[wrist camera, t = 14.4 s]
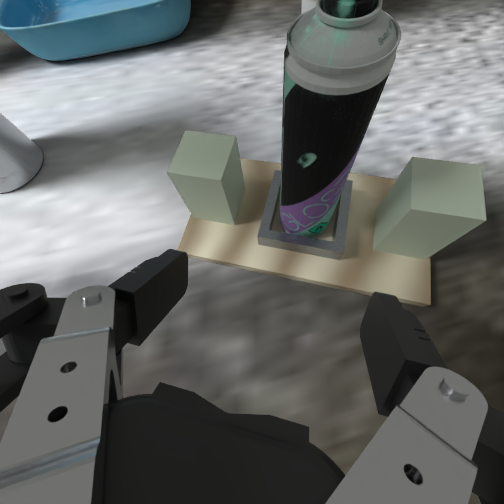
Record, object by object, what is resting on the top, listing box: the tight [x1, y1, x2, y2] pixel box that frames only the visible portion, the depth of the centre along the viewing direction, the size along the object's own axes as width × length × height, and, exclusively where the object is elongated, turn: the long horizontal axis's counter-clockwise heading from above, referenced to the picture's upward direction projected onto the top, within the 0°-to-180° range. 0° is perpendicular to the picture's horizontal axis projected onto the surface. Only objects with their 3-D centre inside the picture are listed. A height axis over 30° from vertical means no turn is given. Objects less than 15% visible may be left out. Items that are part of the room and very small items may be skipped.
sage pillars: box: [167, 130, 486, 260], centre depth 25 cm, size 25×5×8 cm, turn 76°
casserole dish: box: [0, 0, 191, 61], centre depth 46 cm, size 37×22×7 cm, turn 100°
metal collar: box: [257, 170, 353, 260], centre depth 27 cm, size 9×9×2 cm
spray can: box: [280, 0, 401, 238], centre depth 19 cm, size 6×6×20 cm
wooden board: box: [178, 158, 431, 307], centre depth 29 cm, size 26×14×1 cm, turn 76°
